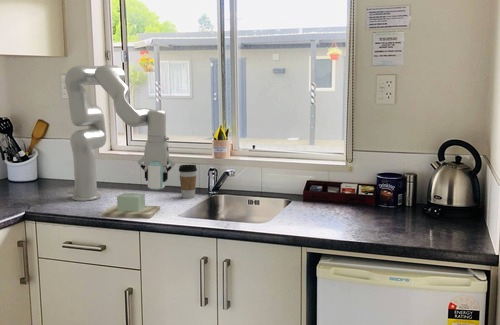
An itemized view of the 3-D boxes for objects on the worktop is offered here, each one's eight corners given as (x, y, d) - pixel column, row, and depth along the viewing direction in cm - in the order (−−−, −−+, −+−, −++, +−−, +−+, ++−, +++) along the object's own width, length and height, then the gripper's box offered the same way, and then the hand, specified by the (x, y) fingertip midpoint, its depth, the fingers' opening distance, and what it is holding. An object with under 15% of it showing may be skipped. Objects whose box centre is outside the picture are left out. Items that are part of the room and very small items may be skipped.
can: (144, 187, 234) (144, 160, 232) (158, 185, 239) (158, 158, 237) (154, 190, 229) (154, 162, 227) (167, 188, 234) (168, 160, 232)
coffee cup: (188, 199, 249) (188, 166, 247) (175, 197, 254) (174, 165, 252) (201, 196, 255) (200, 164, 253) (188, 194, 261) (187, 162, 258)
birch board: (101, 216, 218) (101, 212, 218) (114, 208, 232) (114, 204, 232) (150, 218, 216) (150, 214, 216) (160, 209, 230) (160, 206, 230)
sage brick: (117, 210, 221) (117, 196, 221) (124, 206, 228) (124, 192, 227) (138, 211, 220) (138, 197, 219) (145, 207, 227) (144, 193, 226)
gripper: (178, 139, 233) (178, 180, 236) (139, 137, 235) (139, 177, 238) (174, 141, 226) (173, 183, 229) (133, 139, 228) (133, 181, 231)
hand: (156, 180), depth 234 cm, fingers closed on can, 7 cm apart
